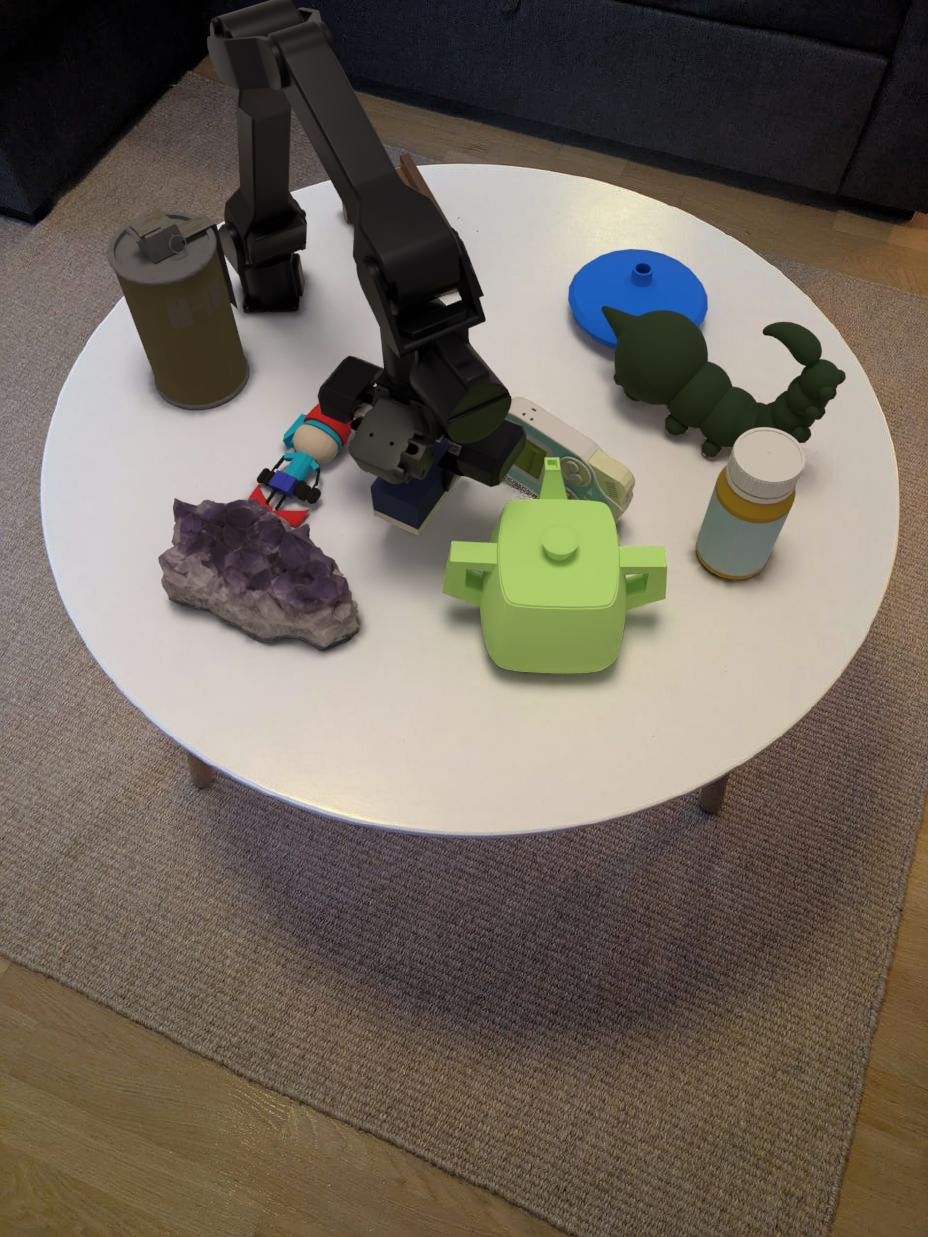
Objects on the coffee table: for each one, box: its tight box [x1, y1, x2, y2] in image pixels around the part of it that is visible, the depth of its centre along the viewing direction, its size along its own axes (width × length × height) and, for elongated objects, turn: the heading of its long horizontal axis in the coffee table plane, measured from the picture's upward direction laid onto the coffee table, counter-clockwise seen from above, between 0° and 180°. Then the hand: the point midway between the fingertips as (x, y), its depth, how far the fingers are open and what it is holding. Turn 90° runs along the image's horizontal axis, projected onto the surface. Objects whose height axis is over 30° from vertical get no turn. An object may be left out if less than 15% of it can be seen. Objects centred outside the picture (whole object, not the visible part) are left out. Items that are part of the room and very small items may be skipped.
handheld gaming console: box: [505, 396, 636, 525], centre depth 98 cm, size 11×3×15 cm
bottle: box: [695, 427, 806, 580], centre depth 92 cm, size 7×7×15 cm
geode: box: [157, 497, 360, 651], centre depth 93 cm, size 20×12×10 cm, turn 65°
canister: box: [106, 208, 250, 410], centre depth 103 cm, size 11×10×20 cm
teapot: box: [442, 457, 668, 674], centre depth 91 cm, size 18×20×13 cm
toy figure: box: [247, 402, 354, 528], centre depth 103 cm, size 8×5×15 cm
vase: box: [567, 248, 709, 350], centre depth 113 cm, size 16×16×7 cm
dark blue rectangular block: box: [369, 438, 461, 536], centre depth 96 cm, size 11×5×4 cm, turn 151°
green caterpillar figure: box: [602, 306, 847, 458], centre depth 100 cm, size 9×19×25 cm
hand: (424, 477), depth 97 cm, fingers closed on dark blue rectangular block, 5 cm apart
